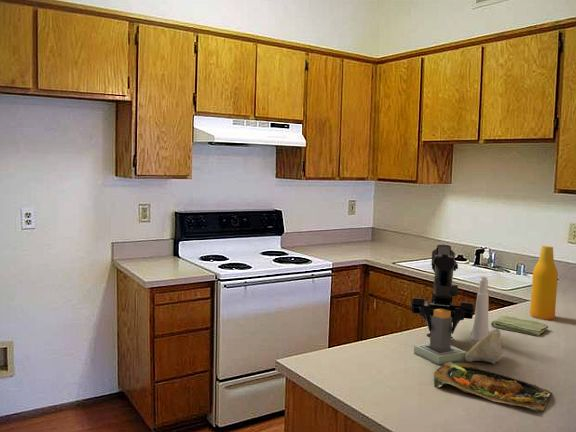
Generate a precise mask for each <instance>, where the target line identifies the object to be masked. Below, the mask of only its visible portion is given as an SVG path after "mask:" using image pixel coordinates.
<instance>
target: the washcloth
mask: <svg viewBox="0 0 576 432" xmlns="http://www.w3.org/2000/svg"><path fill="white" fill-rule="evenodd" d="M490 326H491V327H492V328H494V329H498V330H503V331H509V332H514V333H520V334H526V335H530V336H534V337H539V336H540V335H541V334H543V333H544V332H545V331H546V330H548V329H549V325H547V324H546V323H543V322H539V321H535V320H529V319H522V318H518V317H515V316H514V317H513V316H508V315H504V316H503V315H502V316H499V317H498V318H496V319H494V320H492V321H491V323H490Z"/></svg>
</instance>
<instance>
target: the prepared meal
mask: <svg viewBox="0 0 576 432" xmlns="http://www.w3.org/2000/svg"><path fill="white" fill-rule="evenodd" d="M432 380H433V383H434V388H437V389H438V388H440V387H443V385H444V384H448V385H451V386H453V387H456V388H457V389H459V390H460V391H462V392H464V393H469V394H473V395H477V396H479V397H481V398H484V399H486V400H488V401H490V402H491V401H492V402H495V403H496V402H497V403H501V404H502V403H503V404H506V405H509V406H511V407H514V408H519V409H524V410H530V411H535V412H539V411H542V412H543V411H544V410H545V407H546V404H547V402H548V400H549V396H550V395H552V394H553V392H552V391H550V390H548V389H545V388H542V387H540V386H538V385H536V384H532V383H530V382H526V381H523V380H520V379H516V378H513V377H510V376H507V375H503V374H501V373H496V372H494V371H489V370H485V369H482V368H480V367H477V366H473V365H470V364H467V363H454V362H453V363H451V362H448V363H446V364H442V365H441V366H440V367H439V368H438V369H436V370H435V371H433V379H432ZM517 395H518V396H517Z"/></svg>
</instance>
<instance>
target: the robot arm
mask: <svg viewBox="0 0 576 432" xmlns="http://www.w3.org/2000/svg"><path fill="white" fill-rule="evenodd" d="M455 257H456V253H455V252H454V251H453V249H452V246H451V245H449V244H437V245H436V248H435V249H434V250H432V252H431V263H430V264H431V270H432V271H433V272H434V277H433V292H432V295H431V300H430V302H429V301H425V300H426V298H425V297H413V298H411V313H413V314H418V315H419V316H420V317H422V318H423V319H424V321H425V323H426V325H427V330H428V331H429V333H426V336H427V337H429V338H430V335H431V317H432V316H433V315H434V310H435V309H441V308H442V309H446V310H449V311H451V317H452V333H451V335H453V334H454V333H455V330H456V328H457V326H458V325H459V324H460V321H463V320H464V319H468V320H472V319H473V318H474V313H475V305H474V303H473V302H469V301H460V305H455V304H453V297H458V294H459V293H458V292H459V286H458V285H455V284H453V276H454V272H456V271H457V270H458V269H459V268H458V267H459V265H458V263H457V261H456V260H455V259H456V258H455ZM452 339H454V337H453V336H451V340H452Z"/></svg>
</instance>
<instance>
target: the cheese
mask: <svg viewBox="0 0 576 432" xmlns="http://www.w3.org/2000/svg"><path fill="white" fill-rule="evenodd" d="M500 330H501V329H499V328H494V329H491V330H490V331H489V333H488V335H487V336H486V337H485V338H483V339H481V340H480V341H477V342H476V344H475V345H473V346H472V348H470V349H469V350H468V351H467V352H466V355H465V359H466V360H465V361H466V362H468V363H472V362H487V363H490V364H493V365H494V364H496V363H497V362H498V361H500V359H501V358H502V355H503V352H502V349H503V347H502V342H501V340H500V339H499V338H500V337H501V331H500Z"/></svg>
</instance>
